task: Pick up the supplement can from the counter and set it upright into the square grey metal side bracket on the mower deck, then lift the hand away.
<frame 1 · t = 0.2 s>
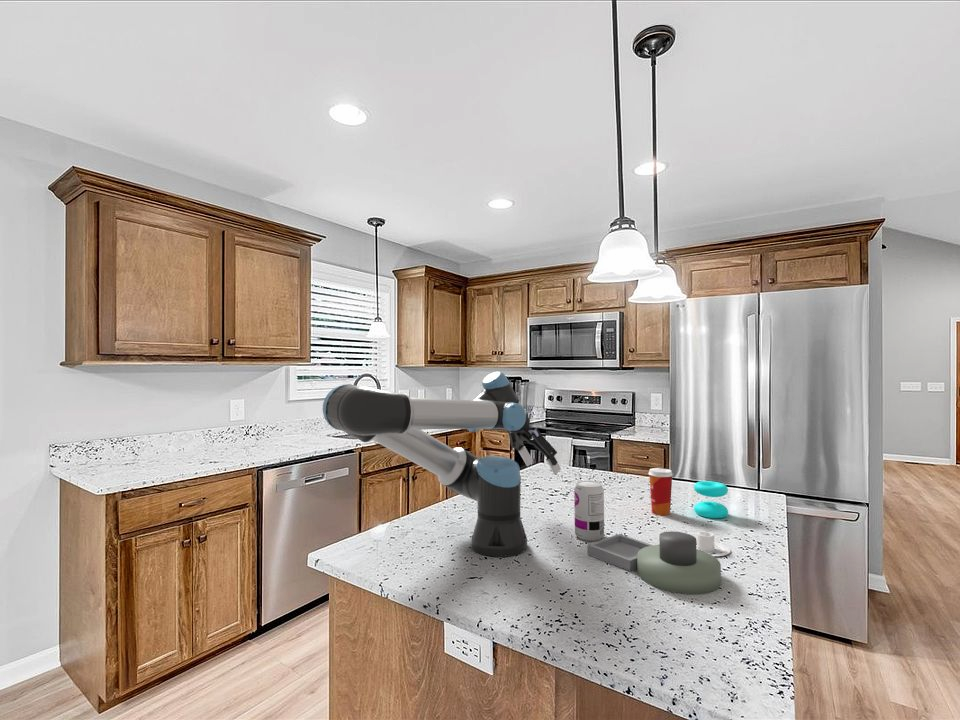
hand: (543, 467, 163), 15 cm above the counter, tool tilted 35°, fingers open, 13 cm apart
donuts: (710, 515, 161), on the counter
supplement can: (589, 537, 142), on the counter
mower deck: (677, 576, 116), on the counter
paper cup: (660, 513, 163), on the counter
candle holder: (705, 550, 133), on the counter
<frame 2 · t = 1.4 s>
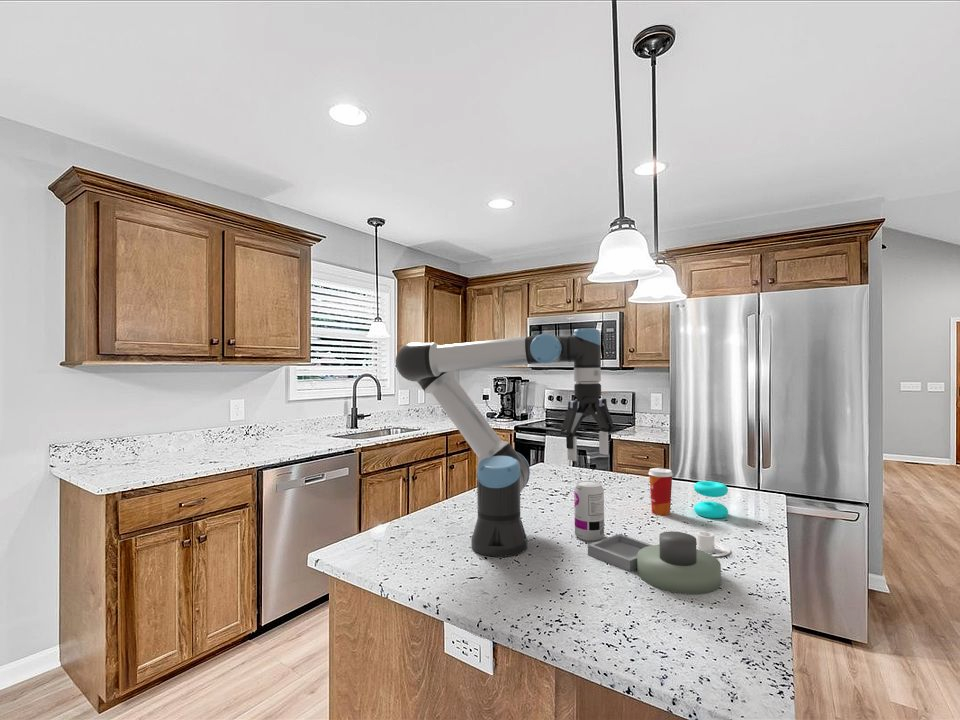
hand: (588, 457, 142), 23 cm above the counter, tool pointing down, fingers open, 13 cm apart
nothing on the counter moved.
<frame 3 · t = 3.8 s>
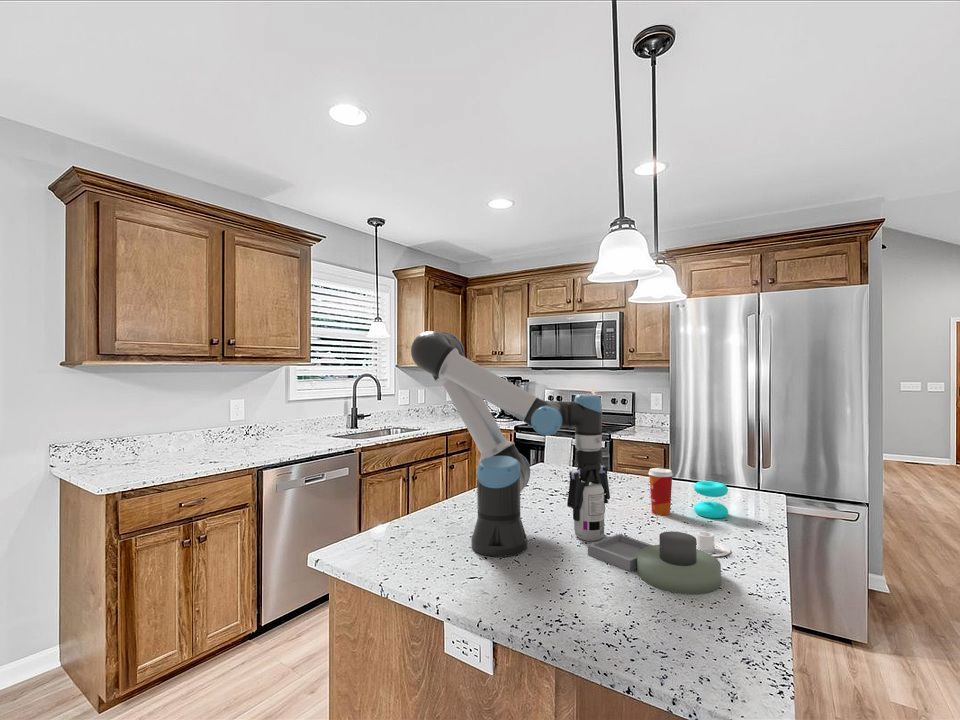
hand: (589, 528, 142), 2 cm above the counter, tool pointing down, fingers closed on supplement can, 8 cm apart
supplement can: (589, 537, 142), on the counter, touching gripper
everything else where it was.
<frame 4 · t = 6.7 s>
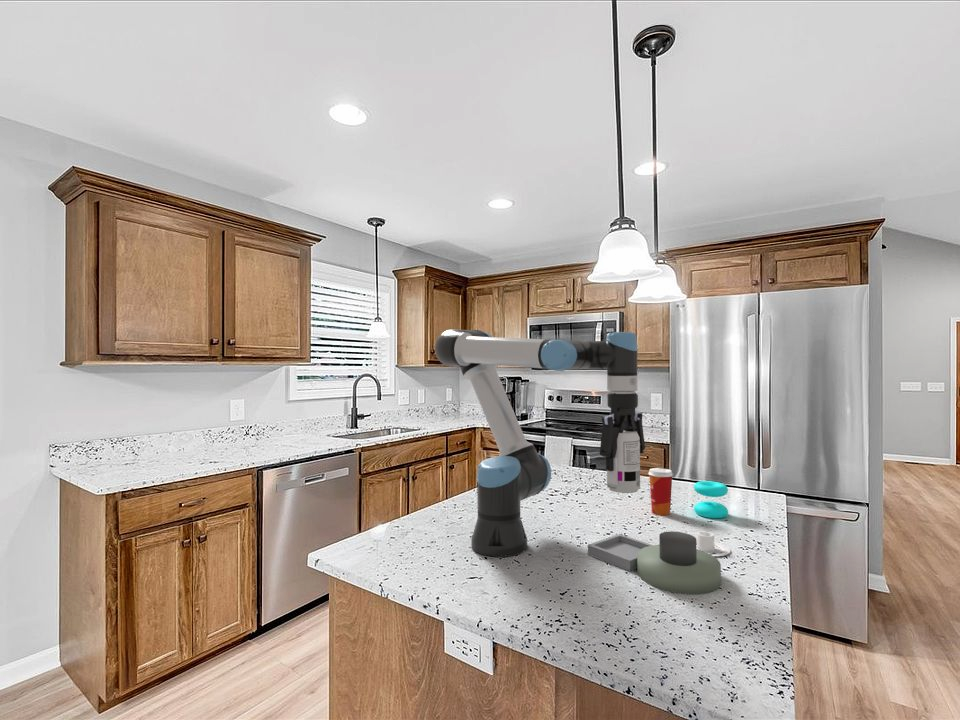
hand: (623, 480, 128), 19 cm above the counter, tool pointing down, fingers closed on supplement can, 8 cm apart
supplement can: (623, 490, 128), point 17 cm above the counter, touching gripper
everything else where it was.
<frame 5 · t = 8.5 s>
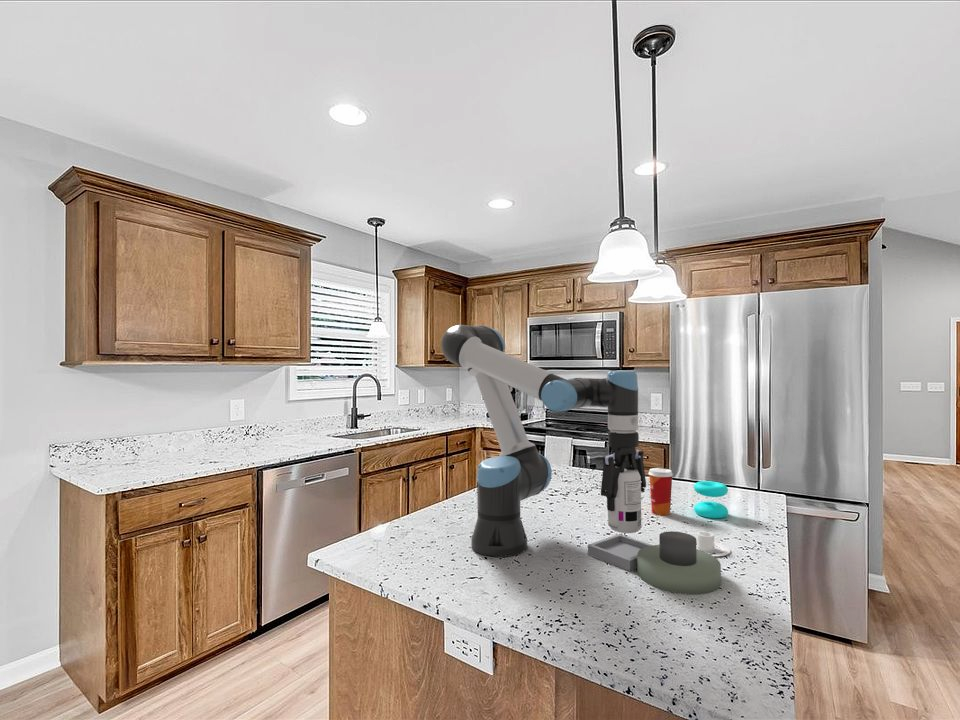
hand: (624, 519, 128), 9 cm above the counter, tool pointing down, fingers closed on supplement can, 8 cm apart
supplement can: (624, 529, 128), point 7 cm above the counter, touching gripper
everything else where it was.
when the fingers open (4 cm above the counter, at t = 10.0 s): supplement can stays where it is, resting on mower deck.
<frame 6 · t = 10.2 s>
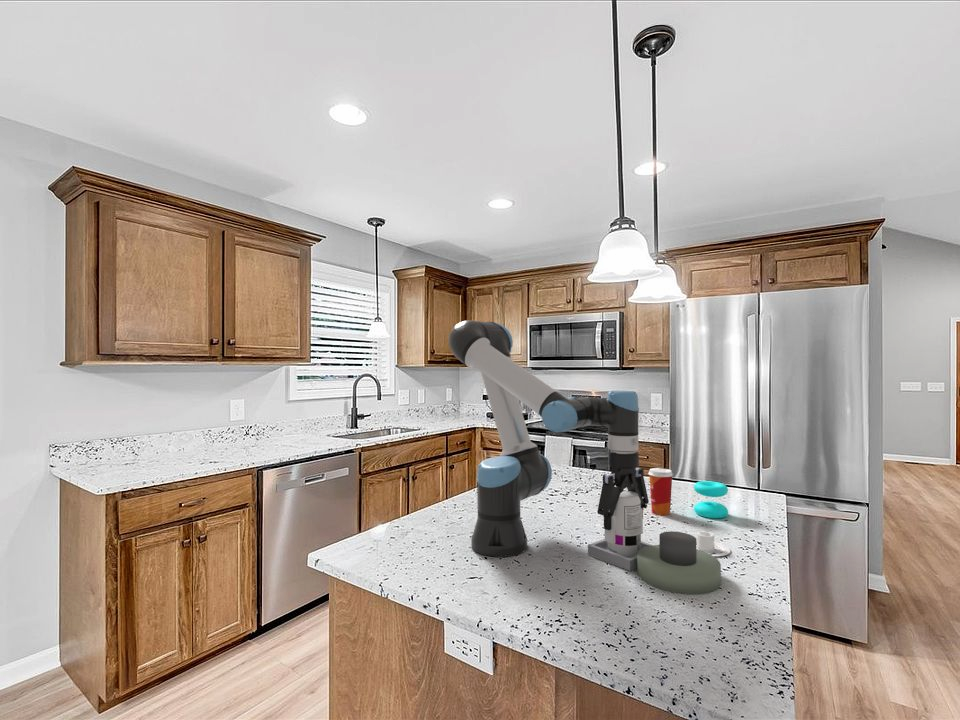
hand: (624, 537, 128), 5 cm above the counter, tool pointing down, fingers open, 10 cm apart
supplement can: (624, 552, 128), point 1 cm above the counter, touching mower deck
everything else where it was.
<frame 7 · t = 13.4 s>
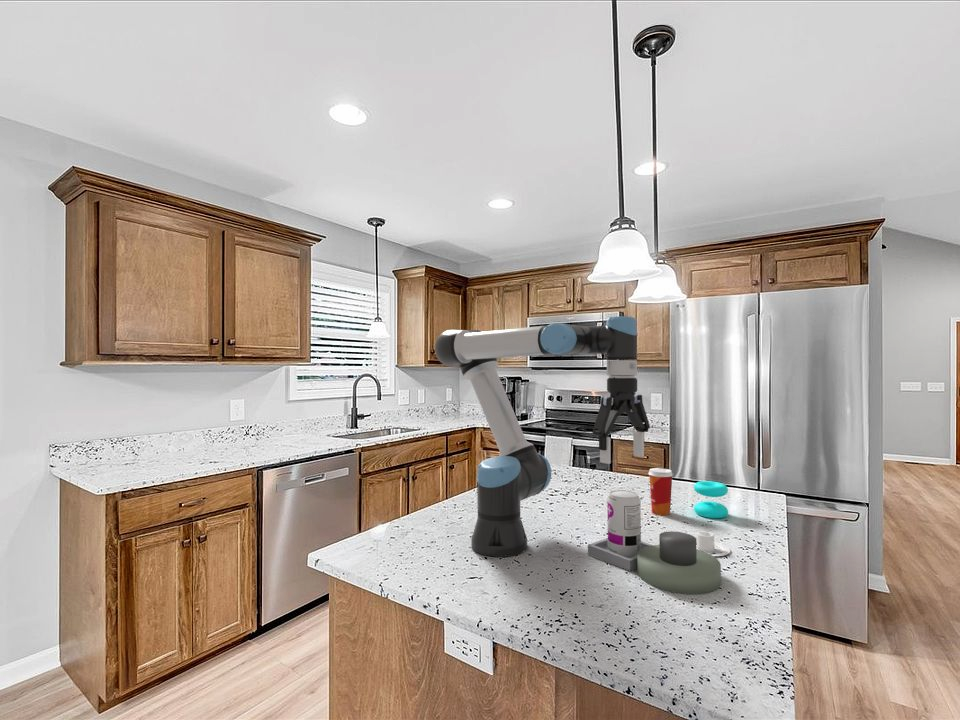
hand: (622, 459, 128), 25 cm above the counter, tool pointing down, fingers open, 13 cm apart
nothing on the counter moved.
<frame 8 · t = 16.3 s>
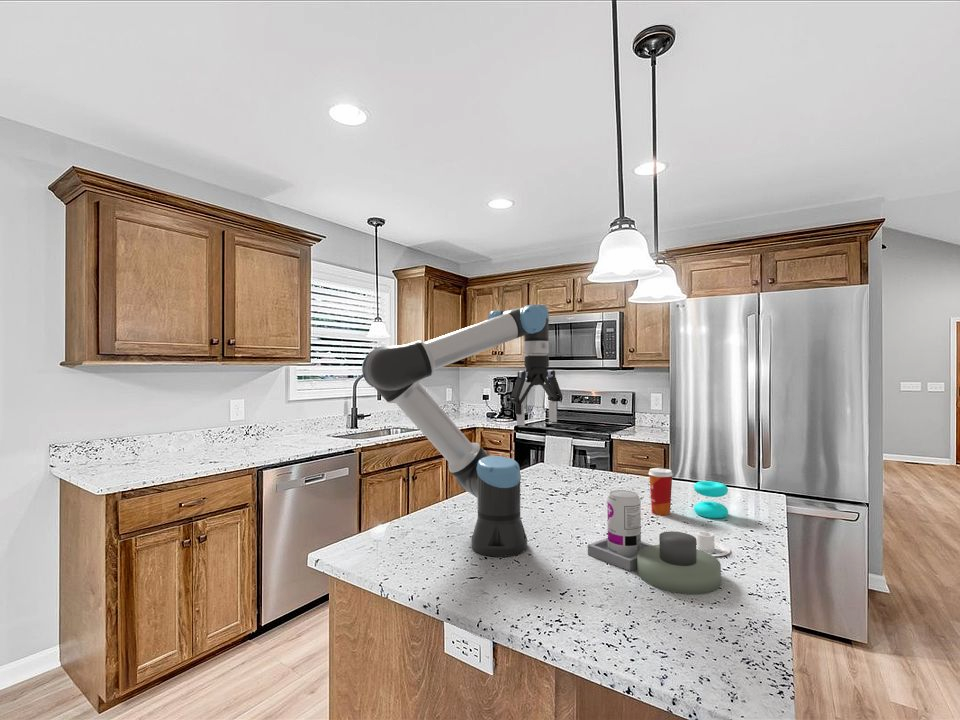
hand: (537, 423, 155), 31 cm above the counter, tool pointing down, fingers open, 13 cm apart
nothing on the counter moved.
at the end: supplement can 0.0 cm from the target spot on the mower deck, point 0.8 cm above the mower deck's base; supplement can tilted 0°; the gripper is holding nothing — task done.
